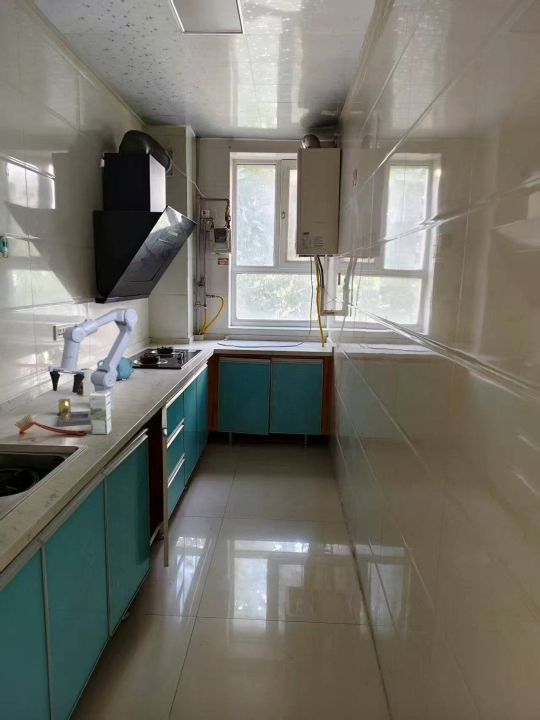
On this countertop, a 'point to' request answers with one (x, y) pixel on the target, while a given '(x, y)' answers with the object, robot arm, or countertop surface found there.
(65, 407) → the hub peg
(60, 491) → the countertop surface
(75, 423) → the steel plate
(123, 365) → the decorative pot
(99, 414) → the syrup box
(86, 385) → the medicine bottle
